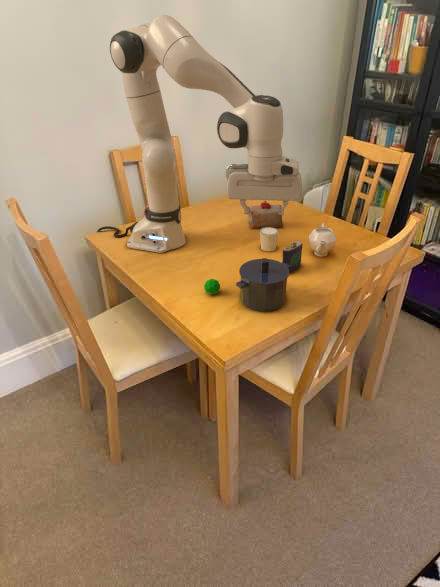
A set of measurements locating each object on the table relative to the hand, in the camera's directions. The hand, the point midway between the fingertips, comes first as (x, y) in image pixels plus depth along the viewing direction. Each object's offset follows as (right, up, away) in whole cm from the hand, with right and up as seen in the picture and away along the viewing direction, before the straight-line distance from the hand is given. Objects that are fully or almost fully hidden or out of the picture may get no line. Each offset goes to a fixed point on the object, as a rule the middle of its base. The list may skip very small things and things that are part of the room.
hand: (263, 214), depth 117 cm
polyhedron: (-15, -22, +15) cm, 30 cm away
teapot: (+24, -8, +35) cm, 43 cm away
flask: (+12, -14, +26) cm, 32 cm away
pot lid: (+1, -16, +6) cm, 17 cm away
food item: (+6, +6, +57) cm, 57 cm away
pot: (+1, -24, +11) cm, 26 cm away
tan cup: (+6, -5, +40) cm, 40 cm away
